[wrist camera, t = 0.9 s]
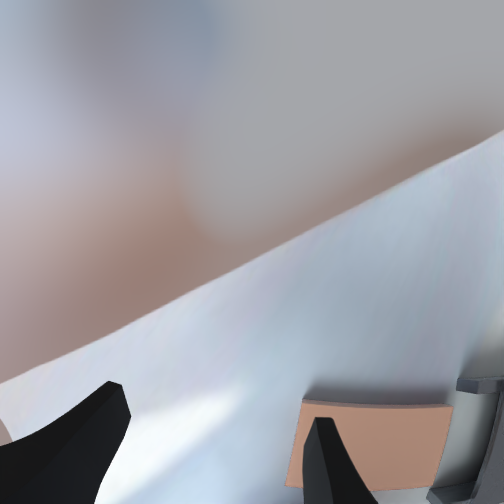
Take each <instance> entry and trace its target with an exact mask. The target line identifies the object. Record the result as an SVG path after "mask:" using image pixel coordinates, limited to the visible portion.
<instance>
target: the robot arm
mask: <svg viewBox="0 0 504 504" xmlns="http://www.w3.org/2000/svg"><path fill="white" fill-rule="evenodd" d="M130 419H131V414H130V411H129V408H128V404H127V401H126V398H125V394H124V391H123V387H122V385H121V384H117V383H114V382H111V381H107V382H106V383H105V384H103V385H102V386H101V387H99V388H98V389H97V390H96V391H94V392H93V393H92V394H91V395H89V396H88V397H87V398H85V399H84V400H83V401H82V402H80V403H79V404H78V405H76V406H75V407H74V408H72V409H71V410H70V411H68V412H67V413H65V414H64V415H62V416H61V417H59V418H58V419H56V420H55V421H53V422H52V423H50V424H49V425H47V426H45V427H44V428H42V429H40V430H38V431H36V432H34V433H32V434H30V435H28V436H26V437H24V438H22V439H19V440H17V441H14V442H12V443H9V444H6V445H3V446H0V504H94V502H95V499H96V496H97V493H98V490H99V487H100V485H101V482H102V480H103V478H104V476H105V474H106V472H107V470H108V468H109V466H110V464H111V462H112V460H113V458H114V456H115V454H116V452H117V450H118V448H119V446H120V444H121V442H122V440H123V438H124V436H125V433H126V431H127V428H128V425H129V422H130ZM302 475H303V493H304V504H378V502H377V501H376V500H375V498H374V497H373V495H372V494H371V493H370V491H369V490H368V488H367V486H366V485H365V483H364V482H363V480H362V478H361V477H360V475H359V473H358V471H357V470H356V468H355V466H354V464H353V462H352V460H351V458H350V456H349V454H348V452H347V450H346V448H345V446H344V444H343V441H342V439H341V437H340V435H339V432H338V430H337V427H336V425H335V422H334V419H333V418H332V417H315V418H314V421H313V423H312V426H311V429H310V431H309V434H308V436H307V439H306V441H305V443H304V446H303V463H302Z"/></svg>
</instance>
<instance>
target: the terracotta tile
mask: <svg viewBox="0 0 504 504" xmlns="http://www.w3.org/2000/svg"><path fill="white" fill-rule="evenodd" d="M452 412H453V406H450V405H447V404H444V403H442V404H417V405H383V404H357V403H341V402H328V401H318V400H308V399H302V403H301V408H300V414H299V419H298V424H297V429H296V434H295V439H294V444H293V449H292V454H291V458H290V463H289V467H288V472H287V476H286V481H285V486H289V487H297V488H303V475H302V463H303V446H304V443H305V441H306V439H307V436H308V434H309V431H310V429H311V426H312V423H313V421H314V418H315V417H332V418H333V419H334V422H335V425H336V427H337V430H338V432H339V435H340V437H341V439H342V441H343V444H344V446H345V448H346V450H347V452H348V454H349V456H350V458H351V460H352V462H353V464H354V466H355V468H356V470H357V471H358V473H359V475H360V477H361V478H362V480H363V482H364V483H365V485H366V486H367V488H368V490H369V491H379V490H397V489H409V488H419V487H427V486H432V485H433V482H434V479H435V477H436V473H437V470H438V467H439V464H440V461H441V457H442V454H443V450H444V446H445V442H446V438H447V434H448V430H449V426H450V421H451V417H452Z"/></svg>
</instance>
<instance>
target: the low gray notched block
mask: <svg viewBox="0 0 504 504" xmlns="http://www.w3.org/2000/svg"><path fill="white" fill-rule="evenodd" d="M456 390H457V391H462V392H468V393H473V394H485V393H495V392H500V397H499V402H498V407H497V412H496V417H495V421H494V425H493V429H492V433H491V437H490V441H489V444H488V448H487V451H486V455H485V458H484V461H483V464H482V467H481V470H480V473H479V476H478V478H477V481H474V482H469V483H464V484H459V485H454V486H448V487H442V488H435V489H429V492H428V495H427V497H426V499H427V500H428V501H429V502H430V503H431V504H499V503H502V502H504V376H499V377H485V378H463V379H458V381H457V387H456Z"/></svg>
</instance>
